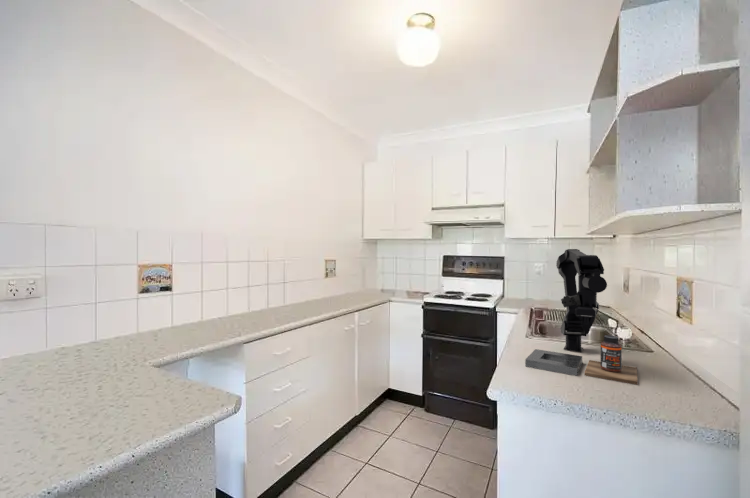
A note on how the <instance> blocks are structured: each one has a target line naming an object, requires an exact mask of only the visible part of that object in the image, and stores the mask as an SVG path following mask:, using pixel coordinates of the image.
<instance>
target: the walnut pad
mask: <svg viewBox="0 0 750 498" xmlns="http://www.w3.org/2000/svg"><path fill="white" fill-rule="evenodd" d="M600 362H601V361H597V360H592V359H589V360H588V362H587V365H586V368H585V370H584V376H585V377H592V378H596V379H603V380H607V381H614V382H620V383H624V384H630V385H636V386H638V383H639V382H638V367H636V366H630V365H624V364H622V370H621V371H620V372H610V371H606V370H604V369H602V368H601V365H600V364H601V363H600Z"/></svg>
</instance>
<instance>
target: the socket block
mask: <svg viewBox="0 0 750 498" xmlns="http://www.w3.org/2000/svg"><path fill="white" fill-rule="evenodd" d="M524 361H525V367H527V368H532V369H533V368H534V369H539V370H543V371H549V372H554V373H559V374H564V375H571V376H578V374H579V372H580V369H581V367H582V365H583V356H582V355H578V354H576V355H575V354H569V353H564V352H563V353H562V352H557V351H556V352H555V351H551V350H550V351H549V350H544V349H538V348H537V349H535V348H534V349H533V351H532V352H531V353H530V354H529V355H528V356H527V357H526V358H525V360H524Z"/></svg>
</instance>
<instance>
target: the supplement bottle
mask: <svg viewBox="0 0 750 498" xmlns="http://www.w3.org/2000/svg"><path fill="white" fill-rule="evenodd" d="M622 347H623V346H622V344H620V343H619V337H618V336H616V335H610V334H607V335H603V341H601V342H600V361H599V362H600V363H601V364H600V365H601V368H602V369H604V370H606V371H610V372H620V371H621V370H622V365H623V364H622V363H623V362H622V361H623V360H622V356H623V355H622V354H623V351H622V350H623V348H622Z"/></svg>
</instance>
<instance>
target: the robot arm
mask: <svg viewBox="0 0 750 498" xmlns="http://www.w3.org/2000/svg"><path fill="white" fill-rule="evenodd" d="M556 269H557V270H558V275H560V276H561V278H562V279H563V287H564V295H563V298H560V301H561V304H562V305H563V308H566V312H565V314H564V316H563V320H562V323H561V324H560V325H561V326H560V333H561V334H562V335H563V336H565V346H564V347H563V350H564V351H565V350H566V351H570V352H571V351H573V352H579V353H582V352H583V350H584V347H583V346H582V337H587V335H588V334H590V331H591V328H592V326H593V324H594V322H595V320H596V317H597V315H598V312H599V310H600V303H599V302H598V300H597V297H598V295H597V294H598V293H602V292H604V291H605V290H606V289H607V287H608V282H607V281H606V279H605V278H604V277H602V276H601V275H604V274H605V272H604V271H605V268H604V265H603V264H602V261H601V259H600V258H599V256H598V255H596V254H586V253H584V252H582V251H580V249H577V248H567V249H565V250H564V253H562V254H561V255H559V256H558V257H557V261H556ZM576 276H578V277H577V278H578V279H576ZM577 280H578V285H577ZM577 286H578V288H577Z"/></svg>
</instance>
